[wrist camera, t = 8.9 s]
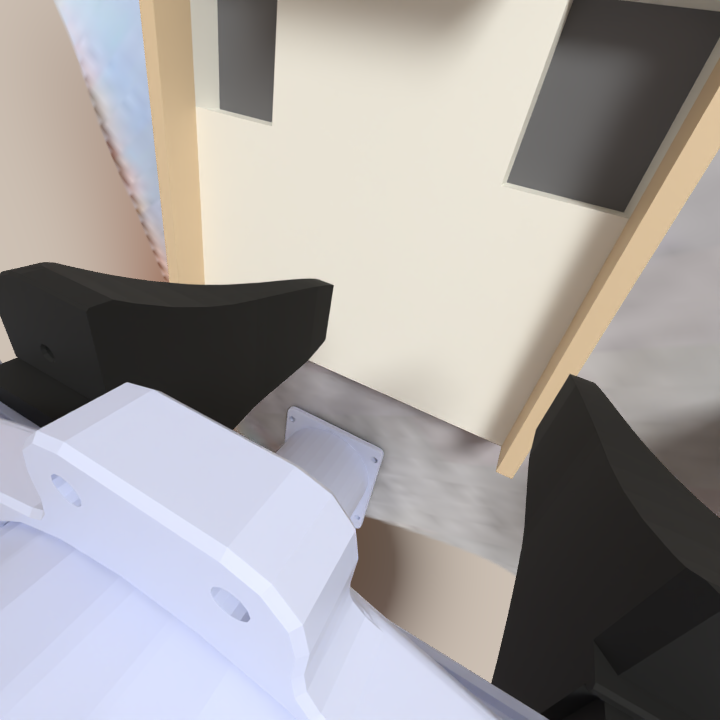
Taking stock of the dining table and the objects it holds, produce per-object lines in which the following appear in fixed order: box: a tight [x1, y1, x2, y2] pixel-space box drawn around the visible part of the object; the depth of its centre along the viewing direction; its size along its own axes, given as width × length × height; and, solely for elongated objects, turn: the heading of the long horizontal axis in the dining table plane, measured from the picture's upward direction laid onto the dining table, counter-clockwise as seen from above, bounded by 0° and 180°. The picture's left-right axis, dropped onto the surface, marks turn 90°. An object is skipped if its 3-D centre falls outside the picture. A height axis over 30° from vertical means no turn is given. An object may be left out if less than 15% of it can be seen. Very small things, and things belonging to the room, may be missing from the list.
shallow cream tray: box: [139, 0, 720, 479], centre depth 17 cm, size 24×22×4 cm
